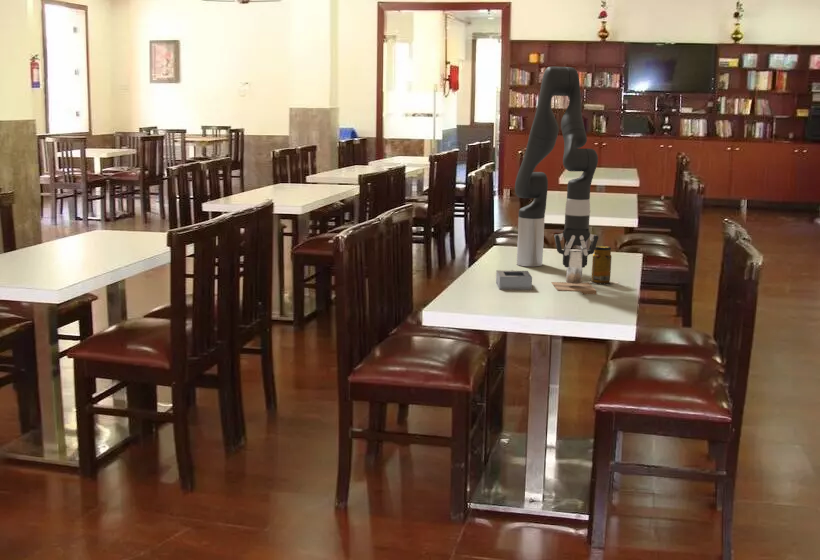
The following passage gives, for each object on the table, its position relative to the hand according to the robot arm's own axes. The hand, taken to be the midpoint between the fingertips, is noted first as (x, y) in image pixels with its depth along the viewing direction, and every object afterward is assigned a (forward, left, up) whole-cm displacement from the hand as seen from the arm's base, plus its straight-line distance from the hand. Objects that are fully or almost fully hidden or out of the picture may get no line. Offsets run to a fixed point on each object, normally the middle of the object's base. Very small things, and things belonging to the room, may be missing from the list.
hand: (574, 266), depth 290 cm
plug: (0, 0, -5) cm, 5 cm away
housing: (0, -19, -7) cm, 20 cm away
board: (0, 0, -7) cm, 7 cm away
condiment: (-12, +12, -8) cm, 19 cm away
